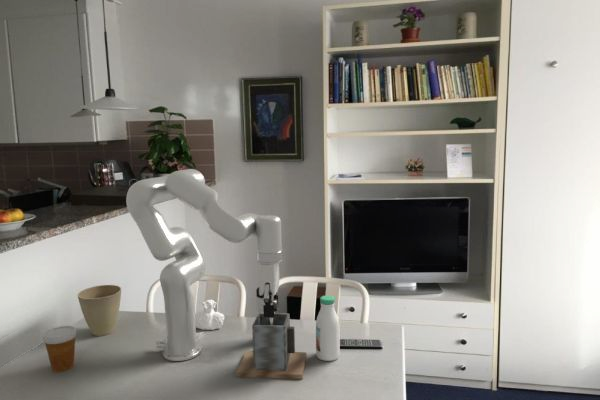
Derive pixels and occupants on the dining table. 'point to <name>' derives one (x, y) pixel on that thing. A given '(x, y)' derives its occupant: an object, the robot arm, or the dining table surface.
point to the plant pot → (100, 308)
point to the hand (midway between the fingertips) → (271, 311)
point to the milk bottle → (327, 331)
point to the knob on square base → (274, 309)
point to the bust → (209, 317)
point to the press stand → (273, 350)
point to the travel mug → (259, 302)
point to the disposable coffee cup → (60, 347)
